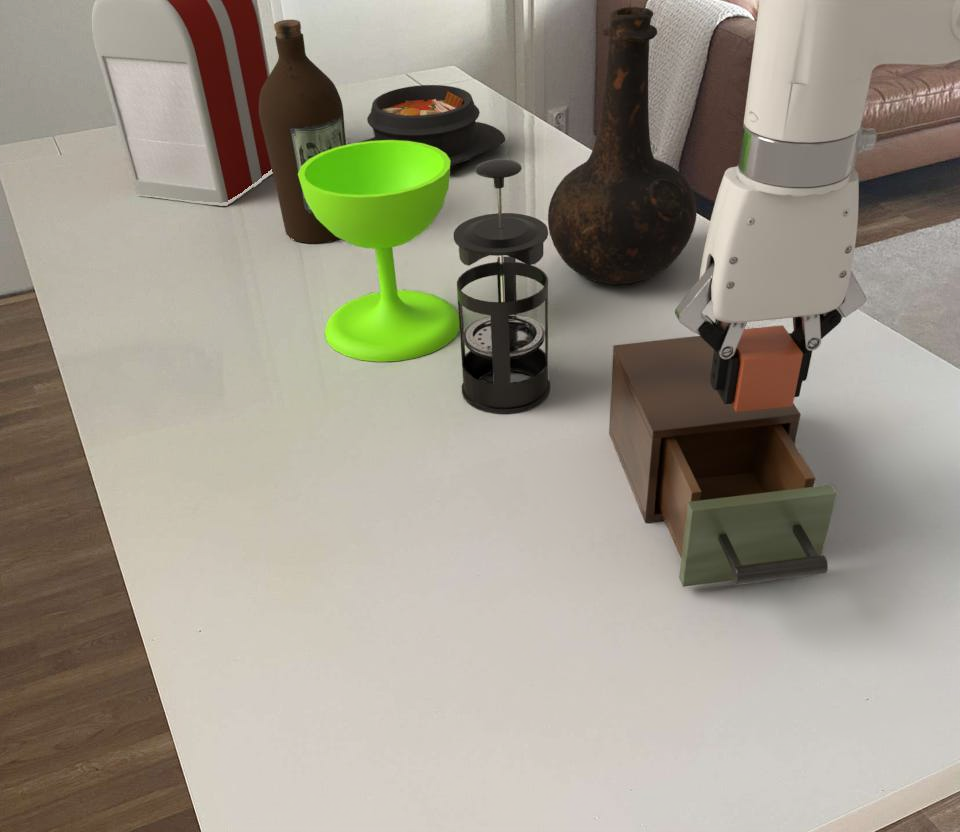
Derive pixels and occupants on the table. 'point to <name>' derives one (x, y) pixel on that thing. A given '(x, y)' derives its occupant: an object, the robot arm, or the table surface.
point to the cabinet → (670, 408)
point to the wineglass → (382, 241)
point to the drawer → (742, 506)
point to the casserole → (433, 121)
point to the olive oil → (298, 127)
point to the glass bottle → (623, 177)
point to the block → (766, 369)
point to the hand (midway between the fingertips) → (756, 389)
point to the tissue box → (185, 93)
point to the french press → (503, 305)
